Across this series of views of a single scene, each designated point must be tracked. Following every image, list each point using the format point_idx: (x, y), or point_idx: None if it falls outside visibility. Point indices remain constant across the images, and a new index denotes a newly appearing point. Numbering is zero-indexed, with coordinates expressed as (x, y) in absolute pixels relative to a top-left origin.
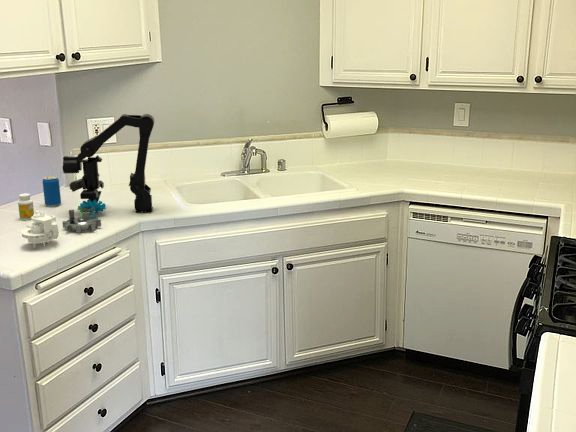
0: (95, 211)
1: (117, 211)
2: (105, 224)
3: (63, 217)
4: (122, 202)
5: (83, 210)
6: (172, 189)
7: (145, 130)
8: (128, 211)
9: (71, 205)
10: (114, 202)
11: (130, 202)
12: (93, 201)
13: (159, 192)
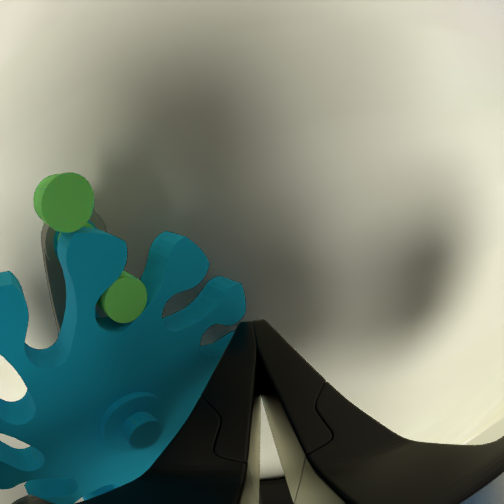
0: (212, 347)
1: (272, 436)
2: (13, 401)
3: (51, 20)
4: (456, 384)
5: (52, 276)
6: (491, 425)
7: None
8: (266, 464)
9: (491, 34)
10: (478, 348)
11: (436, 412)
12: (27, 485)
13: (489, 417)
